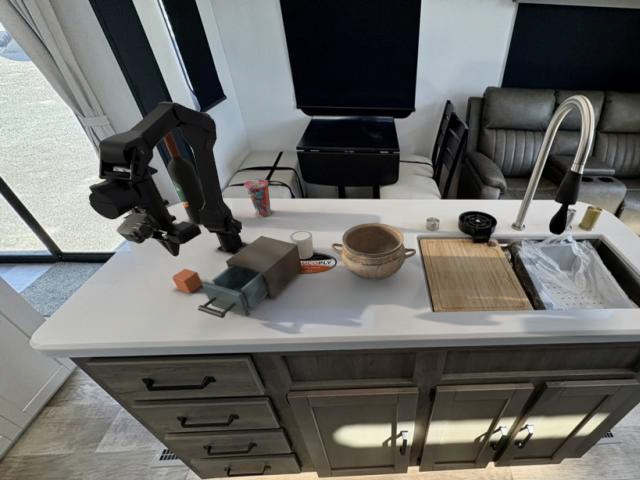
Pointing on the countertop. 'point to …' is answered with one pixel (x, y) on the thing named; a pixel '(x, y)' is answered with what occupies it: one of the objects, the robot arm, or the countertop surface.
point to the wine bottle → (185, 181)
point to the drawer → (234, 291)
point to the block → (187, 280)
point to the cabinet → (270, 262)
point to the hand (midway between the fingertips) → (176, 255)
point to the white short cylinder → (303, 243)
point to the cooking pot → (373, 250)
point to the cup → (259, 195)
